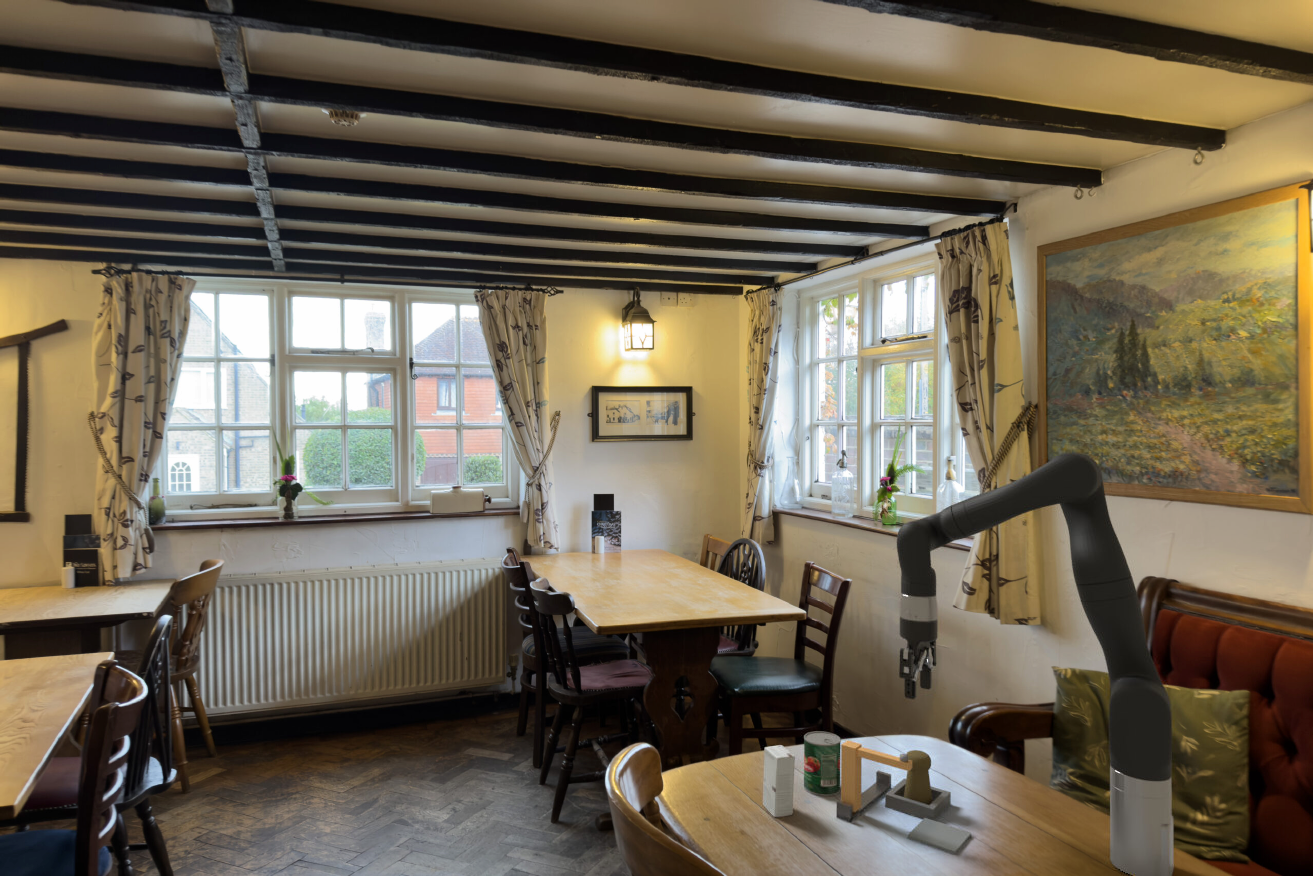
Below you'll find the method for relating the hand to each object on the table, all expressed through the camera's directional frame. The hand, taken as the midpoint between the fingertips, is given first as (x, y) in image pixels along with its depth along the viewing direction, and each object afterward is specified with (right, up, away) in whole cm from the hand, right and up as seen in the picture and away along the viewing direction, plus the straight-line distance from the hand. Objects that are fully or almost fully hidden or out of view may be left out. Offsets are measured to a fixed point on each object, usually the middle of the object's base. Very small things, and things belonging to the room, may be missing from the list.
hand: (918, 693), depth 157 cm
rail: (-11, -23, +1) cm, 26 cm away
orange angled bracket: (-11, -22, -8) cm, 26 cm away
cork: (0, -24, 0) cm, 24 cm away
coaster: (0, -23, -13) cm, 27 cm away
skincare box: (-30, -23, -3) cm, 38 cm away
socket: (0, -23, 0) cm, 23 cm away
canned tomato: (-19, -24, +7) cm, 31 cm away
